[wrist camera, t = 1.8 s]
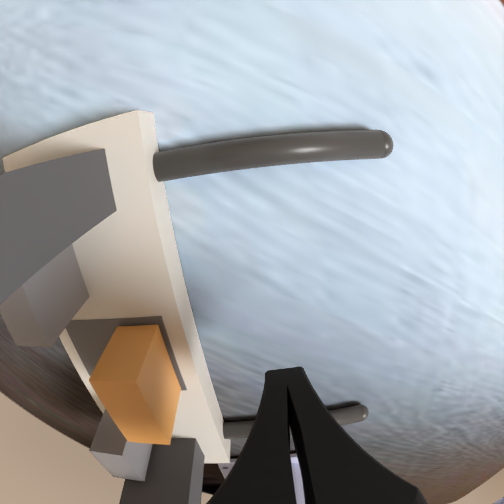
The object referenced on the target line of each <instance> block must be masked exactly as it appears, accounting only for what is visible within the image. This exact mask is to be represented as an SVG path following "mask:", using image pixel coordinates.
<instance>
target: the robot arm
mask: <svg viewBox="0 0 504 504" xmlns="http://www.w3.org/2000/svg"><path fill="white" fill-rule="evenodd" d="M290 429H291V433H292V437H293V441H294V446H295V450H296V453H295V454H290ZM218 466H219V468H220V470H221V472H222V475H223V477H224V479H225V480H224V481H223V483H222V484H221V485H220V487H219V488H218V490H217V491H216V492H215V494H214V495H213V496H212V498H211V499H210V500H209V501H208V502H207V503H206V504H427V502H426V500H425V498H424V497H423V495H422V493H421V492H420V490H419V489H418V488H417V487H416V486H414V485H412V484H410V483H409V482H407V481H405V480H403V479H402V478H400V477H399V476H397V475H396V474H394V473H393V472H391V471H390V470H388V469H387V468H385V467H384V466H383V465H382V464H380V463H379V462H378V461H377V460H375V459H374V458H373V457H372V456H370V455H369V454H368V453H367V452H366V451H364V450H363V449H362V448H361V447H360V446H359V445H358V444H357V443H356V442H355V441H354V440H353V439H352V438H351V437H350V436H349V435H348V434H347V433H346V432H345V430H344V429H343V428H342V427H341V426H340V425H339V424H338V422H337V421H336V420H335V419H334V417H333V416H332V415H331V413H330V412H329V411H328V410H327V408H326V407H325V405H324V404H323V402H322V401H321V399H320V398H319V396H318V395H317V393H316V392H315V390H314V388H313V387H312V385H311V383H310V381H309V379H308V377H307V375H306V373H305V371H304V368H302V367H294V368H286V369H278V370H269V371H267V372H266V373H265V384H264V390H263V394H262V399H261V402H260V406H259V409H258V413H257V416H256V419H255V421H254V424H253V426H252V429H251V432H250V434H249V436H248V439H247V441H246V443H245V445H244V447H243V449H242V451H241V453H240V455H239V457H238V459H230V463H218ZM493 504H504V497H503V498H501V499H499V500H498V501H496V502H495V503H493Z"/></svg>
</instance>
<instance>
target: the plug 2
mask: <svg viewBox="0 0 504 504" xmlns="http://www.w3.org/2000/svg"><path fill="white" fill-rule="evenodd" d="M204 459H205V456H204V454H203V452H202V450H201V448H200V446H199V444H198V442H197V440H196V438H171V442H170V445H164V444H153V445H152V450H151V454H150V459H149V463H148V468H147V472H146V477H145V481H137V480H130V479H125V482H124V487H123V490H122V495H121V499H120V503H119V504H201V494H202V482H203V470H204Z"/></svg>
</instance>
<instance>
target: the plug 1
mask: <svg viewBox="0 0 504 504" xmlns="http://www.w3.org/2000/svg"><path fill="white" fill-rule="evenodd" d="M116 211H117V209H116V204H115V200H114V195H113V190H112V185H111V180H110V175H109V170H108V164H107V158H106V153H105V149H100V150H94V151H89V152H85V153H80V154H75V155H71V156H66V157H62V158H57V159H53V160H49V161H45V162H41V163H37V164H34V165H30V166H26V167H23V168H19V169H16V170H12V171H9V172H6V173H3V174H0V305H1V304H2V303H3V302H4V301H5V300H6V299H7V298H8V297H9V296H10V295H11V294H13V293H14V292H15V291H16V290H17V289H18V288H19V287H20V286H21V285H23V284H24V283H25V282H26V281H27V280H28V279H29V278H31V277H32V276H33V275H34V274H35V273H36V272H38V271H39V270H40V269H41V268H42V267H44V266H45V265H46V264H47V263H48V262H50V261H51V260H52V259H53V258H55V257H56V256H57V255H58V254H59V253H61V252H62V251H63V250H65V249H66V248H67V247H68V246H70V245H71V244H72V243H73V242H75V241H76V240H77V239H79V238H80V237H81V236H83V235H84V234H85V233H87V232H88V231H89V230H91V229H92V228H93V227H95V226H96V225H97V224H99V223H100V222H102V221H103V220H104V219H106V218H107V217H109V216H110V215H111V214H113V213H114V212H116Z"/></svg>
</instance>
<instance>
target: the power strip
mask: <svg viewBox="0 0 504 504" xmlns="http://www.w3.org/2000/svg"><path fill="white" fill-rule="evenodd" d="M100 149H105V153H106V158H107V164H108V170H109V175H110V180H111V185H112V190H113V195H114V200H115V204H116V209H117V211H116V212H114V213H113V214H111V215H110V216H109V217H107V218H106V219H104V220H103V221H102V222H100V223H99V224H97V225H96V226H95V227H93V228H92V229H91V230H89V231H88V232H87V233H85V234H84V235H83V236H81V237H80V238H79V239H77V240H76V241H75V242H73V243H72V244H71V245H70V246H68V247H67V248H66V249H65V250H63V251H62V252H61V253H59V254H58V255H57V256H56V257H55V258H53V259H52V260H51V261H50V262H48V263H47V264H46V265H45V266H44V267H42V268H41V269H40V270H39V271H38V272H36V273H35V274H34V275H33V276H32V277H31V278H29V279H28V280H27V281H26V282H25V283H24V284H23V285H21V286H20V287H19V288H18V289H17V290H16V291H15V292H14V293H13V294H11V295H10V296H9V297H8V298H7V299H6V300H5V301H4V302H3V303H2V304H1V305H0V314H1V316H2V318H3V320H4V322H5V324H6V326H7V328H8V330H9V332H10V334H11V336H12V338H13V340H14V342H15V344H16V346H30V347H47V348H51V347H52V345H53V344H54V343H55V341H56V340H57V338H58V337H59V338H60V340H61V342H62V344H63V346H64V348H65V350H66V352H67V353H68V355H69V357H70V359H71V361H72V363H73V365H74V367H75V368H76V370H77V372H78V374H79V375H80V377H81V379H82V381H83V382H84V384H85V386H86V387H87V389H88V391H89V392H90V394H91V396H92V397H93V399H94V400H95V402H96V404H97V405H98V407H99V408H100V410H101V411H102V413H103V416H102V418H101V421H100V423H99V426H98V429H97V431H96V434H95V436H94V439H93V442H92V444H91V447H90V452H91V453H92V454H93V455H94V456H95V458H96V459H97V460H98V461H99V462H100V463H101V464H102V465H103V466H104V467H105V468H106V469H107V470H108V471H109V473H111V475H112V476H113V477H118V478H124V479H130V480H137V481H145V477H146V472H147V468H148V463H149V459H150V454H151V450H152V445H153V444H148V443H136V442H128V441H127V439H126V438H125V437H124V435H123V434H122V432H121V431H120V429H119V428H118V427H117V425H116V424H115V422H114V421H113V419H112V418H111V416H110V415H109V413H108V412H107V410H106V408H105V407H104V405H103V404H102V402H101V401H100V399H99V397H98V396H97V394H96V392H95V391H94V389H93V387H92V386H91V384H90V382H89V378H90V376H91V374H92V372H93V371H94V369H95V367H96V365H97V363H98V361H99V359H100V357H101V355H102V354H103V352H104V350H105V348H106V346H107V344H108V342H109V341H110V339H111V337H112V335H113V333H114V332H115V330H116V328H117V326H140V325H158V326H159V329H160V332H161V335H162V338H163V341H164V344H165V346H166V349H167V352H168V355H169V358H170V360H171V363H172V366H173V369H174V371H175V374H176V376H177V379H178V382H179V384H180V387H181V392H180V396H179V401H178V406H177V411H176V416H175V421H174V427H173V432H172V437H171V438H196V440H197V442H198V444H199V446H200V448H201V450H202V452H203V454H204V456H205V459H204V463H230V439H238V438H248V436H249V434H250V432H251V429H252V426H253V424H254V421H255V420H253V421H239V422H224V420H223V417H222V414H221V411H220V408H219V405H218V401H217V398H216V395H215V392H214V388H213V385H212V382H211V378H210V375H209V372H208V368H207V365H206V361H205V358H204V354H203V351H202V347H201V343H200V340H199V336H198V332H197V328H196V325H195V321H194V317H193V313H192V309H191V305H190V301H189V297H188V293H187V289H186V285H185V280H184V276H183V272H182V267H181V263H180V259H179V254H178V249H177V245H176V240H175V235H174V230H173V226H172V221H171V215H170V210H169V205H168V200H167V194H166V189H165V183H164V181H167V180H173V179H179V178H185V177H192V176H198V175H205V174H211V173H218V172H226V171H233V170H241V169H249V168H258V167H267V166H276V165H286V164H297V163H309V162H322V161H337V160H355V159H379V158H385V157H387V156H388V155H390V153H391V152H392V150H393V141H392V138H391V137H390V135H389V134H388V133H386V132H385V131H382V130H345V131H322V132H305V133H292V134H280V135H269V136H260V137H251V138H242V139H235V140H227V141H220V142H213V143H207V144H200V145H194V146H188V147H182V148H177V149H171V150H166V151H161V152H159V147H158V141H157V134H156V127H155V120H154V113H153V112H148V111H141V110H135V111H131V112H128V113H124V114H120V115H117V116H113V117H110V118H106V119H103V120H99V121H96V122H93V123H90V124H87V125H84V126H81V127H78V128H75V129H72V130H69V131H66V132H63V133H61V134H58V135H55V136H53V137H50V138H47V139H45V140H42V141H40V142H37V143H35V144H33V145H30V146H28V147H25V148H23V149H21V150H19V151H16V152H14V153H12V154H10V155H8V156H5V157H3V164H4V170H5V173H6V172H9V171H12V170H16V169H19V168H23V167H26V166H30V165H34V164H37V163H41V162H45V161H49V160H53V159H57V158H62V157H66V156H71V155H75V154H80V153H85V152H89V151H94V150H100ZM329 412H330V413H331V415H332V416H333V417H334V419H335V420H336V421H337V422H338V424H339V425H340V426H341V425H346V424H351V423H355V422H360V421H363V420H365V419H366V418H367V416H368V409H367V407H366V406H364V405H355V406H350V407H345V408H340V409H335V410H330V411H329ZM290 434H292V433H291V429H290Z"/></svg>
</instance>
